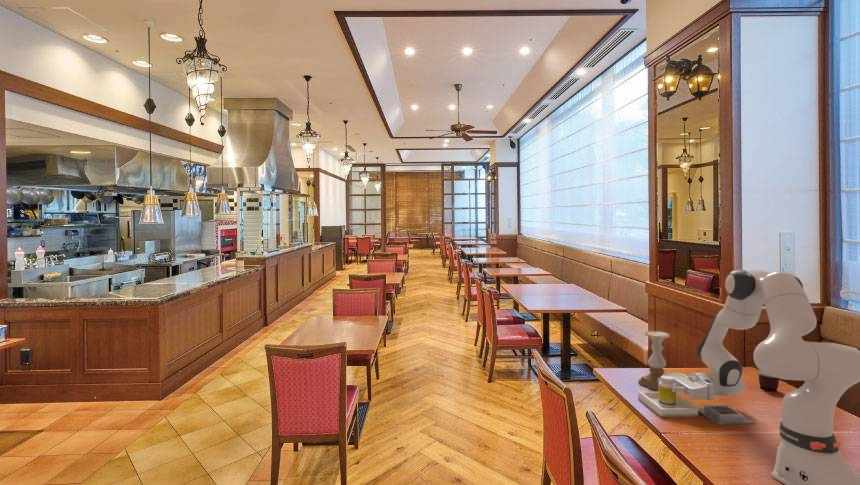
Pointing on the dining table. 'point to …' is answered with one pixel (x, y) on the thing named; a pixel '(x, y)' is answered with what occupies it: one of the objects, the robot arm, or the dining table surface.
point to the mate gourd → (768, 382)
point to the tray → (679, 410)
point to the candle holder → (655, 360)
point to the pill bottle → (666, 392)
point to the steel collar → (724, 415)
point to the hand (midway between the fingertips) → (664, 384)
